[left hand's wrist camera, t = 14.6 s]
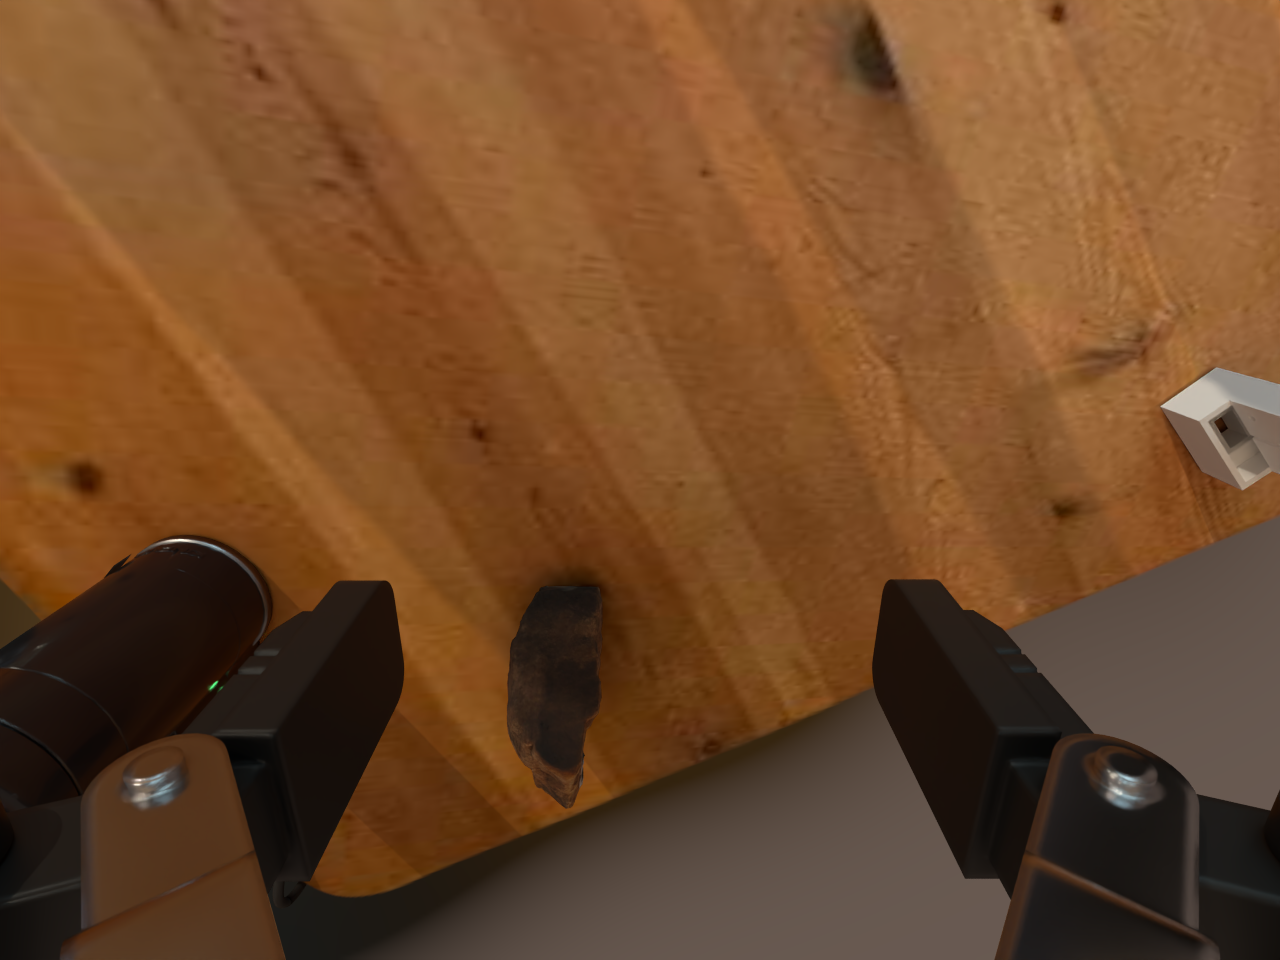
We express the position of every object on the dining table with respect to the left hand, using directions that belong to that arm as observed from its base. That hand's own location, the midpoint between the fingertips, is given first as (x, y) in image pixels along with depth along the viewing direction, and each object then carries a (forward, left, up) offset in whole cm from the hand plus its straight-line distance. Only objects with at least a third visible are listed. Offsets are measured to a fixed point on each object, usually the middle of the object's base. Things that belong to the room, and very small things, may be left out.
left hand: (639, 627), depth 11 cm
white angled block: (-6, -35, -32) cm, 48 cm away
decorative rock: (-22, +5, -32) cm, 39 cm away
